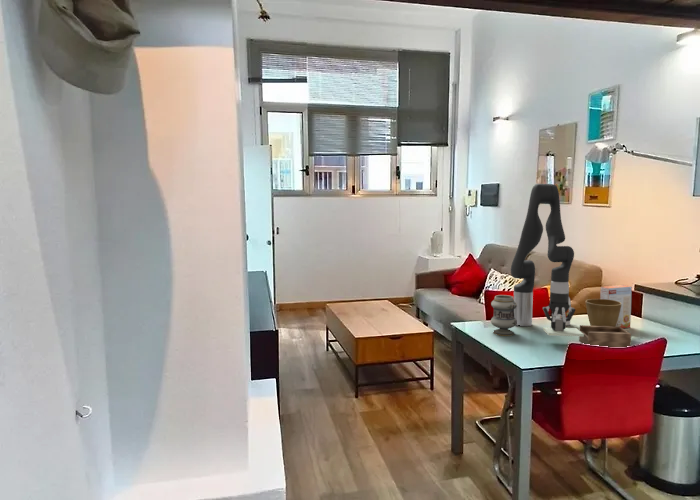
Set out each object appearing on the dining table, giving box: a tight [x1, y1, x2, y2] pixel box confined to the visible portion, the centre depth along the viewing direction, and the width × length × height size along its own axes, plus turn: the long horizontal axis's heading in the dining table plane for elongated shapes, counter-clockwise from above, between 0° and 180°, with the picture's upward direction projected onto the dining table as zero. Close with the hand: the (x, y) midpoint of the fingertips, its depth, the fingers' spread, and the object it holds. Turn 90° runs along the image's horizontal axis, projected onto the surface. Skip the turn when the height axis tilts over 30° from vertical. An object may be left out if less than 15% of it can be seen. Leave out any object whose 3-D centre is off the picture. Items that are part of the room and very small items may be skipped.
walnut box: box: [578, 324, 632, 347], centre depth 207 cm, size 17×13×7 cm
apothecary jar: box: [490, 294, 518, 337], centre depth 228 cm, size 12×12×18 cm
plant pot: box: [585, 298, 622, 326], centre depth 223 cm, size 15×15×16 cm
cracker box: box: [599, 284, 633, 329], centre depth 237 cm, size 14×6×21 cm, turn 106°
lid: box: [542, 319, 584, 337], centre depth 209 cm, size 14×10×6 cm
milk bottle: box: [556, 297, 572, 327], centre depth 244 cm, size 8×8×20 cm
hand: (558, 329), depth 210 cm, fingers closed on lid, 3 cm apart
